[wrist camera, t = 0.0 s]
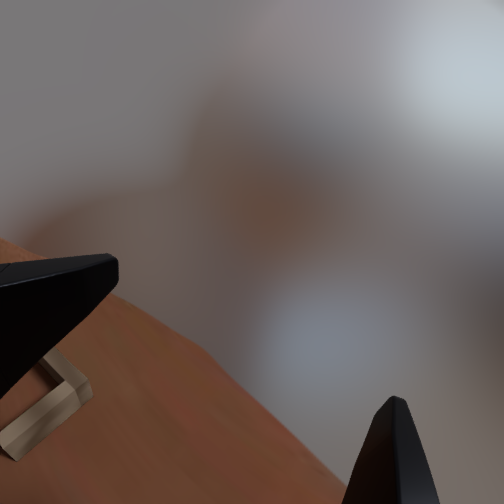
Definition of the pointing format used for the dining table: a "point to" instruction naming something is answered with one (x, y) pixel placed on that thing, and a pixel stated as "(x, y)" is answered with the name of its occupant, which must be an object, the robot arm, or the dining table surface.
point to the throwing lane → (47, 406)
